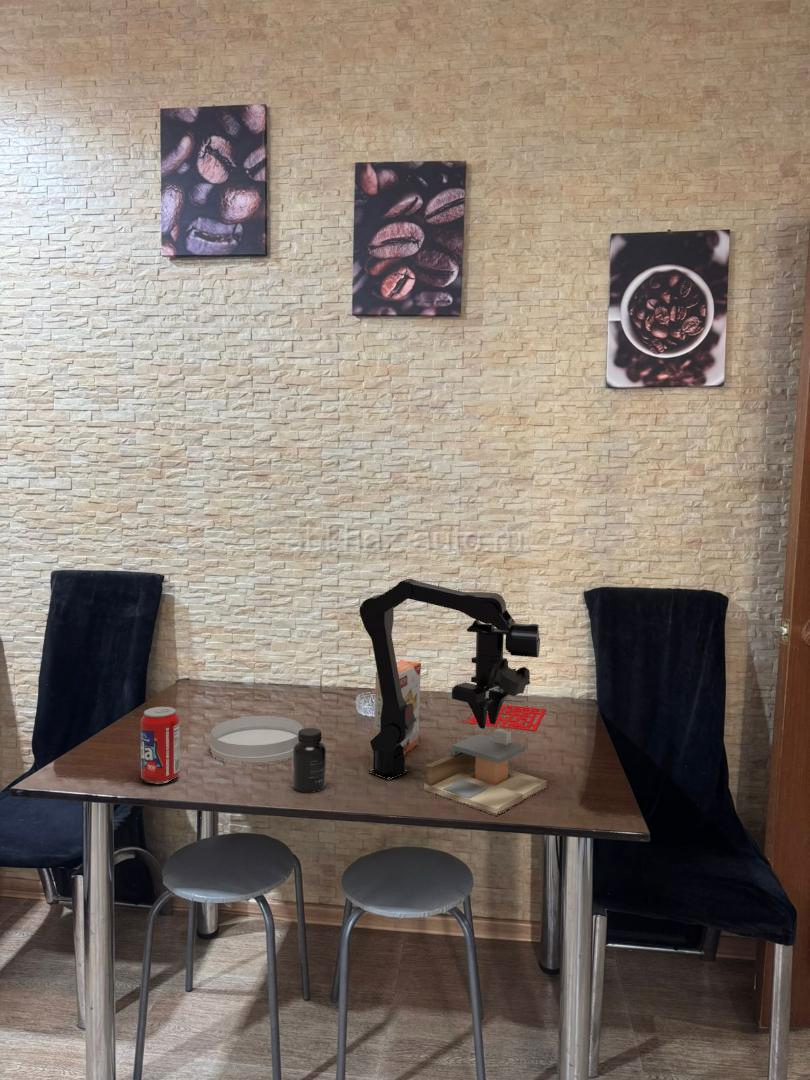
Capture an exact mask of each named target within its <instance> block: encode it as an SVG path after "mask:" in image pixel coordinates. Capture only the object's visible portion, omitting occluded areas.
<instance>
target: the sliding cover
mask: <svg viewBox="0 0 810 1080" xmlns="http://www.w3.org/2000/svg"><path fill="white" fill-rule="evenodd" d="M525 748H526V747H525V746H524V745H520V744H518V743H514V742H512V730H511V731H510V730H508V729H505V728H504V729H503V728H497V729H495V730H494V737H491V736H488V735H485V734H481V733H478V734H475V735H473V736H471V737H468V738H466V739H464V740H460V741H458V742H455V743H453V744H452V745H451V748H449V755H454V756H455V755H457V754H460V753H465V754H469V755H472V756H475V757H479V758H482V759H485V760H489V761H492V762H495V763H501V762H503V761H505V760H507V759H508V760H509V759H512V758H513V757H516V756H517V755H520V754H522V753H524V752H525V751H526V749H525Z"/></svg>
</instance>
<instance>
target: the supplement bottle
mask: <svg viewBox="0 0 810 1080" xmlns="http://www.w3.org/2000/svg"><path fill="white" fill-rule="evenodd" d="M298 741H299V742H298V743H297V744H296V745H295V746H294V748H293V758H292V761H293V762H292V786H293V788H294V790H296V791H297V790H298V791H297V792H300V791H302V792H301V793H305V792H312V793H314V792H313V791H317V792H319V791H318V790H320V791H321V789H322V788H323V789H324V788H325V786H326V766H327V765H326V764H327V762H326V761H327V755H326V754H327V750H326V749H327V748H326V745H325V744H324V742H322V731H321V730H320V728H315V727H307V728H306V727H305V728H304V727H303V729H301V730H300V731H299V732H298ZM323 789H322V790H323Z"/></svg>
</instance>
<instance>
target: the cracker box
mask: <svg viewBox="0 0 810 1080" xmlns="http://www.w3.org/2000/svg"><path fill="white" fill-rule="evenodd" d="M396 663H397V669H398V675H399V680H400V686H401V692H402V696H403V699H404V700H405V702H406V704H411V703H413V713H414V716H415V718H416V721H415V722H414V727H413V730H412V731H411V732H410V734H409V735H408V736H407V737H406V738H405V739H404V741H402V742H401V743H400V744H401V746H403V747H404V754H405V753H406V752H408V751H409V750H411V749H412V748H413V747H415V746H416V745H417V744H418V745H419V729H420V725H419V724H420V703H421V702H420V700H421V698H420V697H421V675H422V674H421V671H422V669H421V668H422V663H421V662H418V661H410V660H399V661H396ZM374 685H375V691H374V720H373V721H374V722H373V723H374V726H373V738H374V737H375V736H376V735H377V734H378V733H379V732H380V731H381V728H380V717H381V711H382V696H381V690H380V684H379V679H378V673H377V671H375V684H374ZM416 747H417V746H416ZM416 747H415V748H416ZM412 750H413V749H412ZM412 750H411V751H412ZM409 752H410V751H409ZM409 752H408V753H409ZM405 755H406V754H405Z"/></svg>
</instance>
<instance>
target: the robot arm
mask: <svg viewBox="0 0 810 1080" xmlns="http://www.w3.org/2000/svg"><path fill="white" fill-rule="evenodd" d="M407 600H411V601H417V602H420V603H425V604H429V605H432V606H433V605H434V606H438V607H442V608H446V609H449V610H450V609H451V610H456V611H458V612H460V613H463V614H464V615H466V616H468V617H470V618H471V619H474V621H473V623H472V624H471V625H469V627H467V628H466V631H467V632H468V633H475V634H476V635H475V640H476V641H475V656H473V657H471V663H473V664H475V671H474V673H475V675H474V676H471V677H470V681H471V683H469V682H466V681H465V682H462V683H459V684H455V685H454V686H453V687H452V688H451V699H452V700H456V701H459V702H463V703H464V702H465V703H467V704H468V705H469V708H470V711H471V710H472V712H473V713H472V715H473V716H475V718H476V719H475V720H476V721H477V722H476V723H478V725H477V726H478V727H479V728H480V729H482V730H484V729H485V728H486V726H485V725H486V724H487V723H486V722H487V721H486V717H487V714H488V717H489V719H488V720H489V721H490V724H493V725H494V724H495V723H496V720H497V718H498V715H499V712H500V709H501V707H503V706H502V705H504V701H505V699H507V698H508V697H509V696H511V697H516V696H517V695H520V694H523V693H524V691H525V690H526V686H528V685H530V684H531V681H530V678H531V674H530V669H529V668H527V667H525V666H522V667H519V668H518V669H517V668H511V667H509V660H508V658H506V657H504V645H505V651H507V653H510V656H514V657H515V656H516V657H525V658H526V657H527V658H539V656H540V650H541V649H540V648H541V637H540V630H539V628H540V625H539V624H538V623H530V624H528V623H527V624H524V623H516V621H515V620H514V619H513V616H511V614H510V613H509V611H508V610H507V604H506V601H505V599H504V597H503V596H502V595H501V594H499V593H497V592H490V591H489V592H486V591H473V592H472V591H469V592H468V591H461V590H457V589H453V588H448V587H443V586H439V585H436V584H431V583H426V582H422V581H418V580H416V579H413V578H405V579H403V580H401V581H399V582H398V583H397V584H396V585H395V586H393V587H392V588H390V589H389V590H387V591H385V592H384V593H382V594H376V595H374V596H371V597H369V598H366V599H365V600H364V601H362V603H361V605H360V606H359V616H360V619H361V621H362V625H363V627H364V629H365V631H366V632H367V634H368V636H369V637H370V640H371V643H372V650H373V656H374V661H375V667H376V672H377V673H378V679H379V684H380V690H381V696H382V711H381V717H380V728H381V731H380V732H379V733H378V734H377V735H376V736H375V737H374V736H373V738H372V739H371V740H369V741H370V747H371V750H372V751H373V752H372V754H373V756H372V757H373V758H372V769H374V770H372V771H370V769H369V770H367V772H368V771H369V772H372V773H374V774H377V775H380V776H382V777H385V778H388V777H390V778H392V777H395V776H398V775H400V774H403V773H404V772H407V771H408V772H409V769H407V768H405V764H406V763H405V759H406V756H405V755H406V754H405V755H404V747H403V746H401V744H400V743H401V742H402V741H404V739H405V738H406V737H407V736H408V735H409V734H410V732H411V731H412V730H413V727H414V722H415V721H416V718H415V716H414V713H413V703H411V704H406V702H405V700H404V699H403V696H402V692H401V686H400V680H399V675H398V669H397V663H396V662H397V658H396V653H395V647H394V641H393V640H394V639H393V635H392V634H393V627H394V620H395V619H394V618H395V617H394V616H395V615H394V609H395V608H396V607H398V606H399V605H401V604H402V603H403V602H405V601H407ZM504 635H505V638H504ZM504 639H505V642H504ZM473 683H475V684H473ZM487 711H488V712H487ZM489 721H488V722H489ZM497 721H498V720H497ZM405 770H407V771H405ZM408 772H407V773H408ZM403 775H404V774H403ZM400 776H401V775H400ZM398 777H399V776H398ZM390 778H389V779H390Z"/></svg>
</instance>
